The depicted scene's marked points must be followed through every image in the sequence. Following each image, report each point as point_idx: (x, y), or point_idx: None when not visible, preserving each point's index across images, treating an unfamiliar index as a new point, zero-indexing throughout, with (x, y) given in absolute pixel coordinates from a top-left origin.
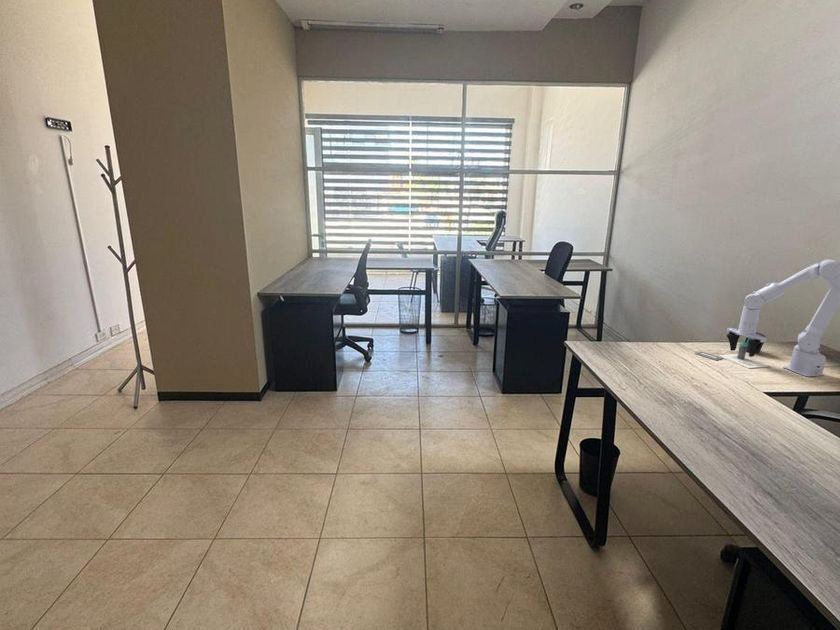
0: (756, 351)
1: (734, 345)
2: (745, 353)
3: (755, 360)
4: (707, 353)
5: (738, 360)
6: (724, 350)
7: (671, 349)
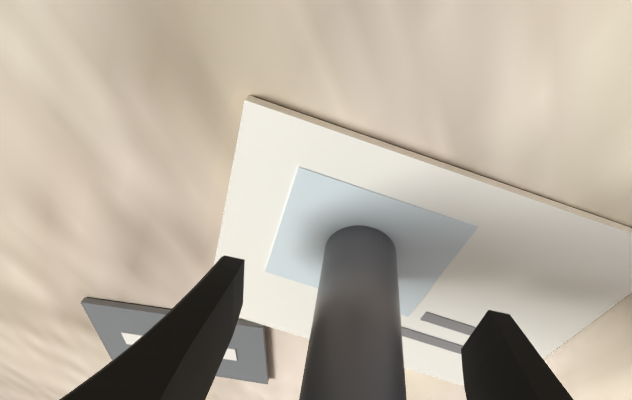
0: (563, 392)
1: (211, 346)
2: (400, 317)
3: (508, 193)
4: (136, 315)
5: None
6: (65, 66)
7: (14, 367)
